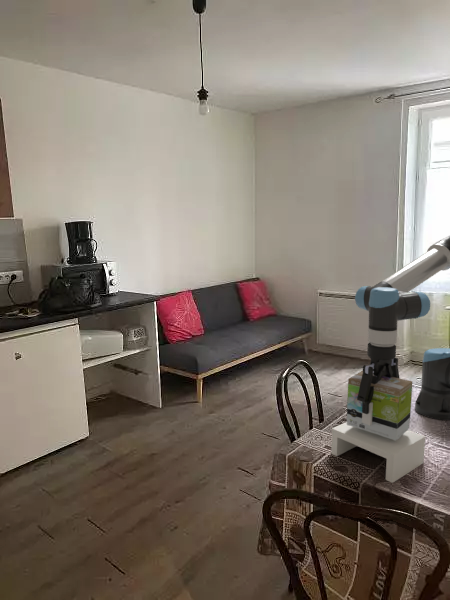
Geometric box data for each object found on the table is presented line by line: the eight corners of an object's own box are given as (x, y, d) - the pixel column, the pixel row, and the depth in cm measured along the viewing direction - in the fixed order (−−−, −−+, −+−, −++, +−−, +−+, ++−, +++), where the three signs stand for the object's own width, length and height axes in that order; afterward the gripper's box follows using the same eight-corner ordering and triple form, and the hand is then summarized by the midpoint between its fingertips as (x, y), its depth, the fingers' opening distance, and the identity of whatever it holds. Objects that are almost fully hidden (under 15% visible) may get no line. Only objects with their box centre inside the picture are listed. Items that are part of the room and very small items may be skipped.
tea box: (345, 426, 131) (346, 377, 128) (360, 415, 138) (362, 368, 136) (396, 442, 121) (399, 389, 118) (410, 429, 128) (413, 379, 126)
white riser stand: (363, 437, 144) (364, 414, 142) (423, 462, 128) (425, 436, 127) (331, 453, 134) (331, 428, 132) (392, 482, 118) (393, 454, 117)
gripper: (392, 334, 135) (389, 404, 139) (345, 347, 121) (342, 425, 125) (416, 339, 130) (412, 411, 133) (369, 353, 115) (366, 434, 119)
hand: (378, 418), depth 129 cm, fingers closed on tea box, 10 cm apart
